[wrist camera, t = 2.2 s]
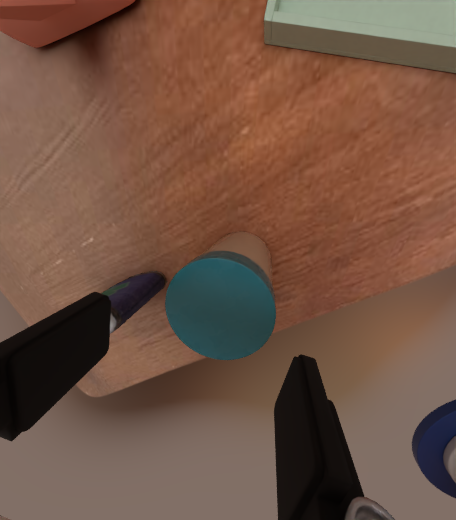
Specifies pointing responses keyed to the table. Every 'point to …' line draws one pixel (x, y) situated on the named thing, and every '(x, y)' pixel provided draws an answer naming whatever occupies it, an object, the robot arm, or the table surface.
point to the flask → (132, 295)
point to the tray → (368, 29)
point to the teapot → (52, 18)
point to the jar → (246, 249)
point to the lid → (221, 305)
